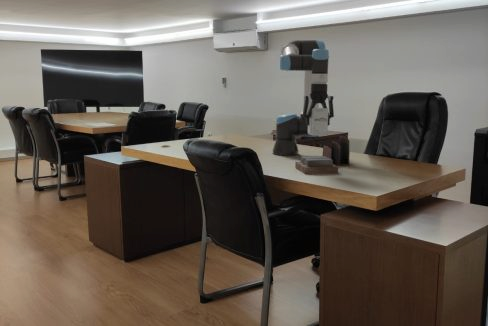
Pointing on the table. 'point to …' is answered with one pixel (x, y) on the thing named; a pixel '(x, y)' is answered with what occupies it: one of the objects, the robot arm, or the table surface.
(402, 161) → the table surface
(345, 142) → the letter holder
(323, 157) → the riser
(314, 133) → the supplement box
